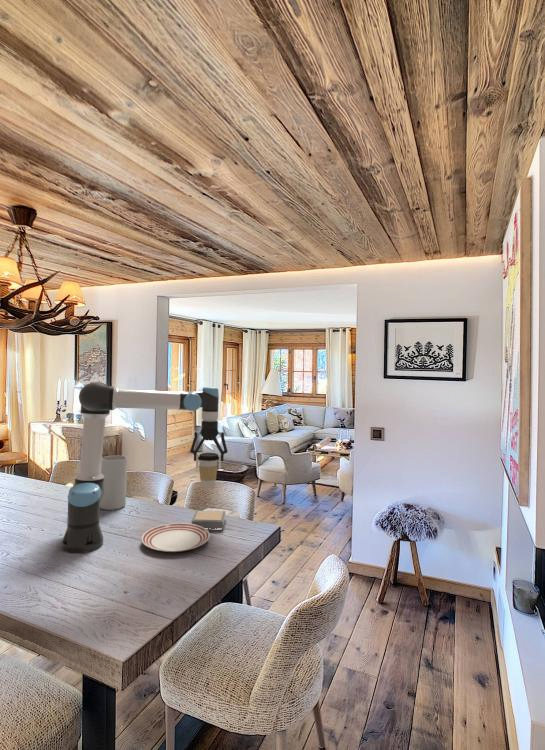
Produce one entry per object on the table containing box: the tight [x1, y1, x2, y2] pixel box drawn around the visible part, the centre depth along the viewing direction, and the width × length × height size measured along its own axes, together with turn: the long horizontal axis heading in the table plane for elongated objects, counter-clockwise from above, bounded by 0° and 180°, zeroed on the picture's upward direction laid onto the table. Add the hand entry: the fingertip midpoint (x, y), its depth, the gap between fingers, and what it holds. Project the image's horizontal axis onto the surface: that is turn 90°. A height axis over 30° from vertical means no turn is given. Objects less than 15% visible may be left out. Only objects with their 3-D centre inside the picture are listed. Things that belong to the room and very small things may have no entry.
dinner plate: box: [141, 522, 211, 553], centre depth 171 cm, size 28×27×3 cm
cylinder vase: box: [100, 455, 128, 511], centre depth 213 cm, size 12×12×25 cm
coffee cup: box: [198, 452, 219, 489], centre depth 193 cm, size 10×10×15 cm
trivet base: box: [191, 510, 226, 530], centre depth 192 cm, size 14×14×4 cm
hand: (208, 468), depth 193 cm, fingers closed on coffee cup, 10 cm apart
